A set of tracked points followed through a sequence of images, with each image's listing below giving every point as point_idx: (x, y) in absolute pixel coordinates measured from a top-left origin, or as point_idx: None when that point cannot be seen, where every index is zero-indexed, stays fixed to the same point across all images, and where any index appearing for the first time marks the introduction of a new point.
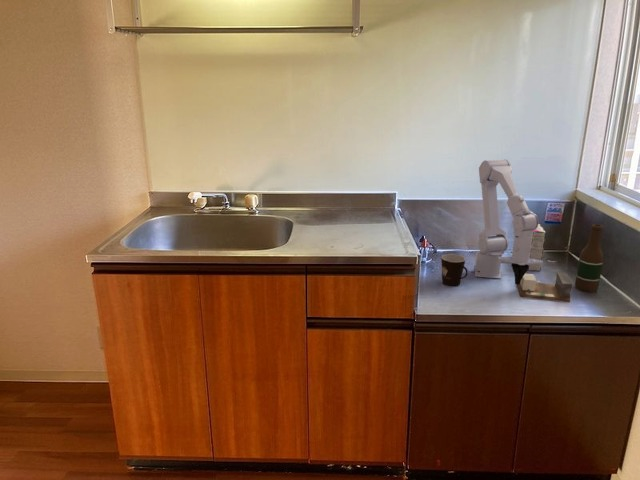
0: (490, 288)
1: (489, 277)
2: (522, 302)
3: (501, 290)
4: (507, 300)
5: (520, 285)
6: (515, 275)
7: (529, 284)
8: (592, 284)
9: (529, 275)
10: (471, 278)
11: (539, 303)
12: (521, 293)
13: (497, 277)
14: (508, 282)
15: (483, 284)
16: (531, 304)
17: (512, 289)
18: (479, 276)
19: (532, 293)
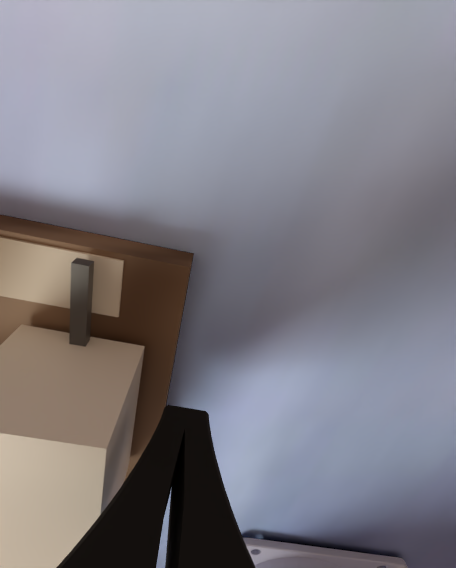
0: (392, 409)
1: (317, 548)
2: (207, 113)
3: (315, 379)
4: (360, 163)
5: (135, 439)
6: (227, 523)
7: (50, 384)
8: None
9: (10, 545)
10: (443, 537)
11: (12, 92)
12: (174, 279)
13: (265, 548)
14: None
15: (410, 466)
16: (113, 54)
17: (211, 399)
18: (381, 557)
19: (53, 277)
